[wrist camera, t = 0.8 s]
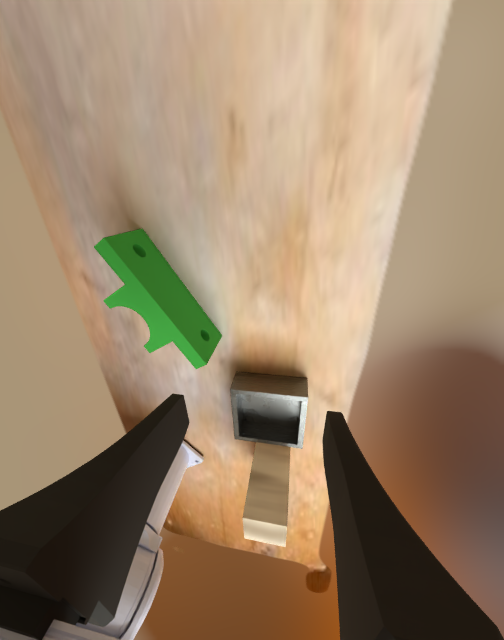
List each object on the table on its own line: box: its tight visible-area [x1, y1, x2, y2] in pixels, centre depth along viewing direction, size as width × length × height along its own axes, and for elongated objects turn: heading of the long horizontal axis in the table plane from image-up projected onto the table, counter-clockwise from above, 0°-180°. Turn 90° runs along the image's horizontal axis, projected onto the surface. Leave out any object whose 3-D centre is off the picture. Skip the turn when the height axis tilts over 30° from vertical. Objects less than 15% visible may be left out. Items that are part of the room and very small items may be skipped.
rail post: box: [243, 442, 290, 547], centre depth 26 cm, size 4×4×8 cm
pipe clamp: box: [94, 229, 222, 369], centre depth 20 cm, size 11×4×5 cm, turn 32°
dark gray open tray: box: [230, 372, 308, 449], centre depth 24 cm, size 7×7×2 cm
